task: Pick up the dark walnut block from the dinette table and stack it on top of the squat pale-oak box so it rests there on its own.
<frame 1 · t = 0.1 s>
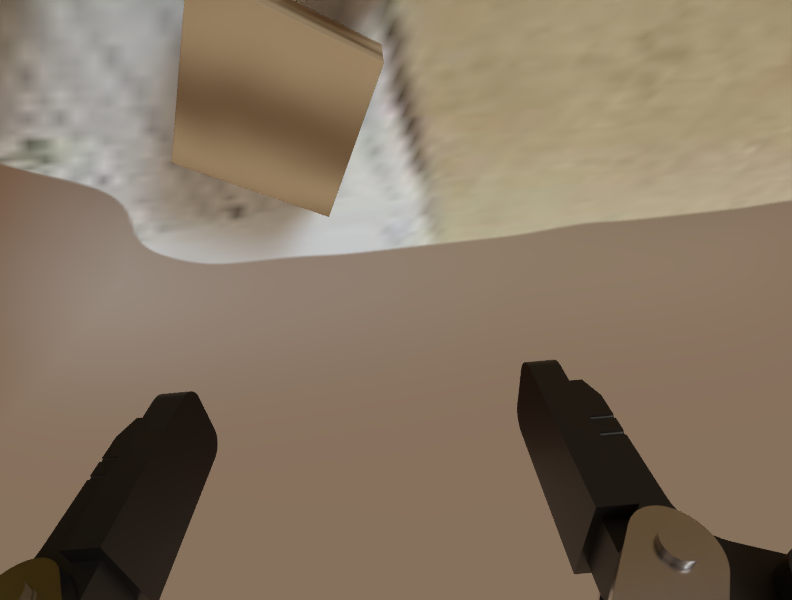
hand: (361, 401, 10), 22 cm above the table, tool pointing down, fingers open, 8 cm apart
oak box: (288, 88, 25), on the table
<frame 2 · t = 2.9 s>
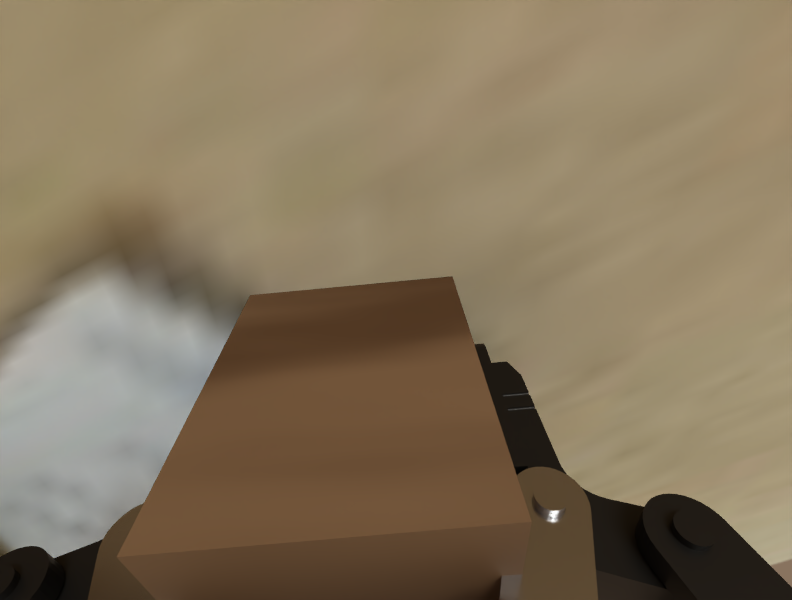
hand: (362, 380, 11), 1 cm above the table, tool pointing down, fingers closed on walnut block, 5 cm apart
walnut block: (363, 362, 11), on the table, touching gripper
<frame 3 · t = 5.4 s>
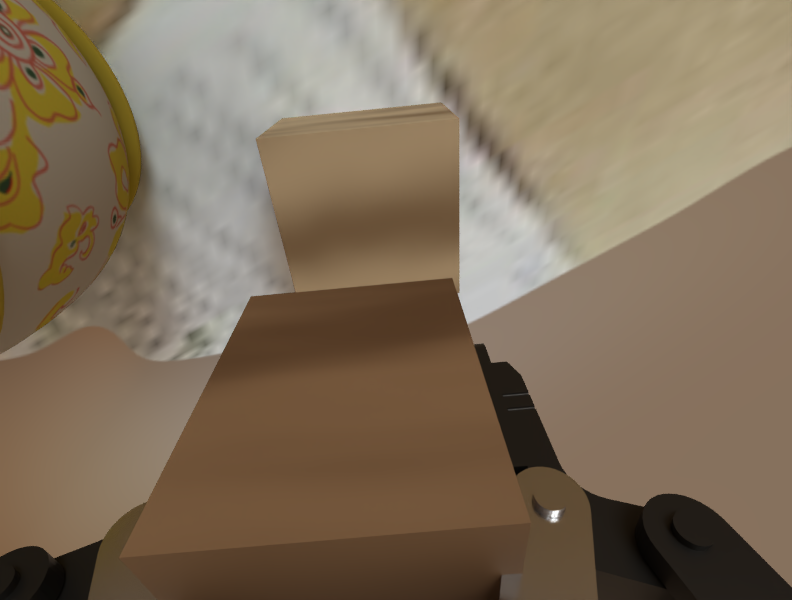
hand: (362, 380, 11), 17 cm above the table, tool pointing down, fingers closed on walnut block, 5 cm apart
flowerpot: (15, 113, 22), on the table
walnut block: (364, 363, 11), point 16 cm above the table, touching gripper
oak box: (371, 188, 25), on the table
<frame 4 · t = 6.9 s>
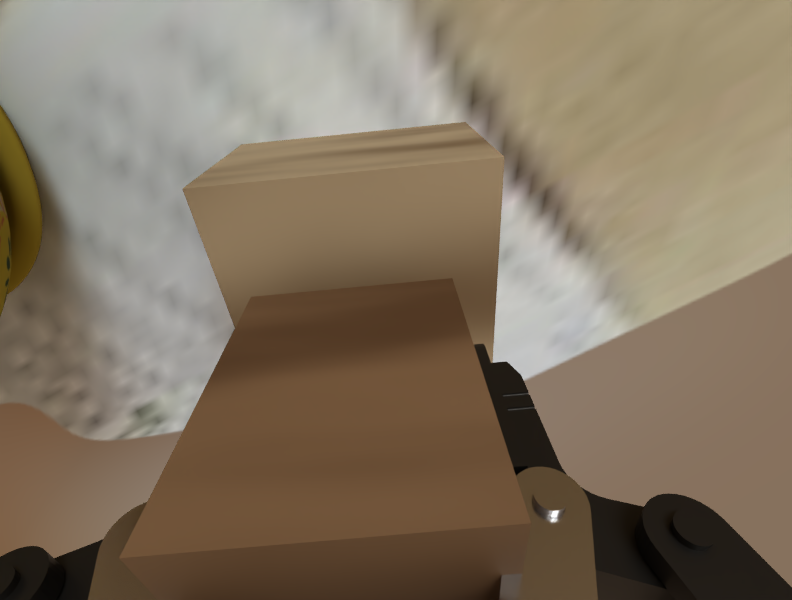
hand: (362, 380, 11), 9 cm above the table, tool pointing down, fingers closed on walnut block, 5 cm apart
walnut block: (364, 363, 11), point 9 cm above the table, touching gripper
oak box: (367, 235, 19), on the table
when the fingers open (7 cm above the table, at t = 8.0 s): walnut block stays where it is, point 6 cm above the table.
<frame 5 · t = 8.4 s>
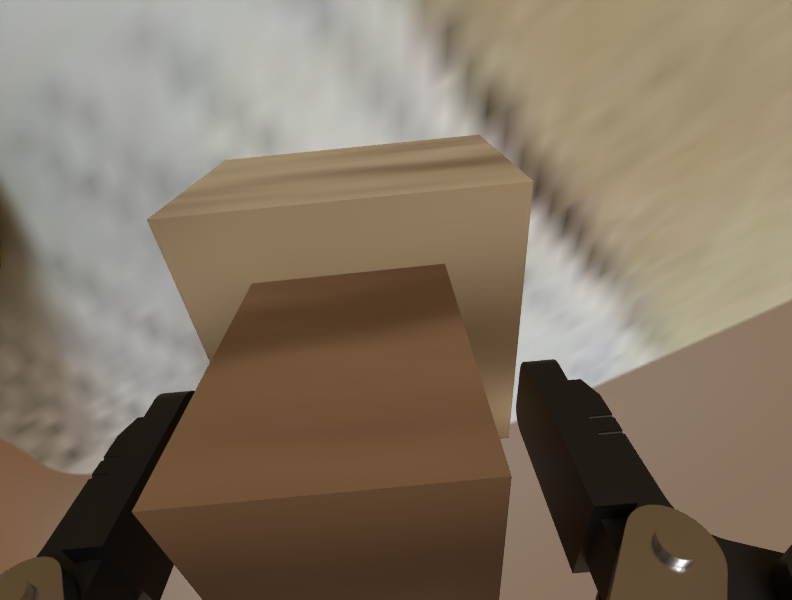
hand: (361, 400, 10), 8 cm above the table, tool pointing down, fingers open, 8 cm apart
walnut block: (361, 348, 12), point 6 cm above the table
oak box: (368, 258, 17), on the table
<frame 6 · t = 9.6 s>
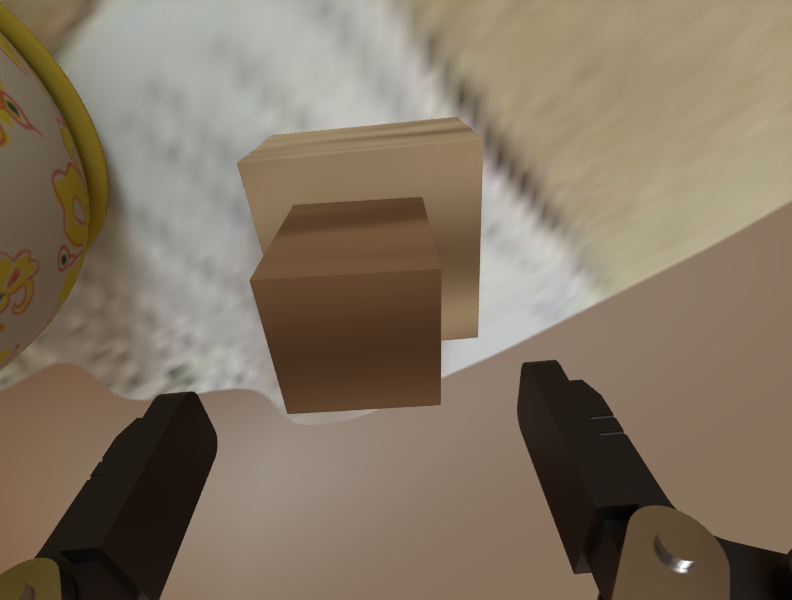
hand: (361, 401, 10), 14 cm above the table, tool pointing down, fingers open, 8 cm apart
walnut block: (364, 259, 17), point 6 cm above the table
oak box: (375, 213, 22), on the table
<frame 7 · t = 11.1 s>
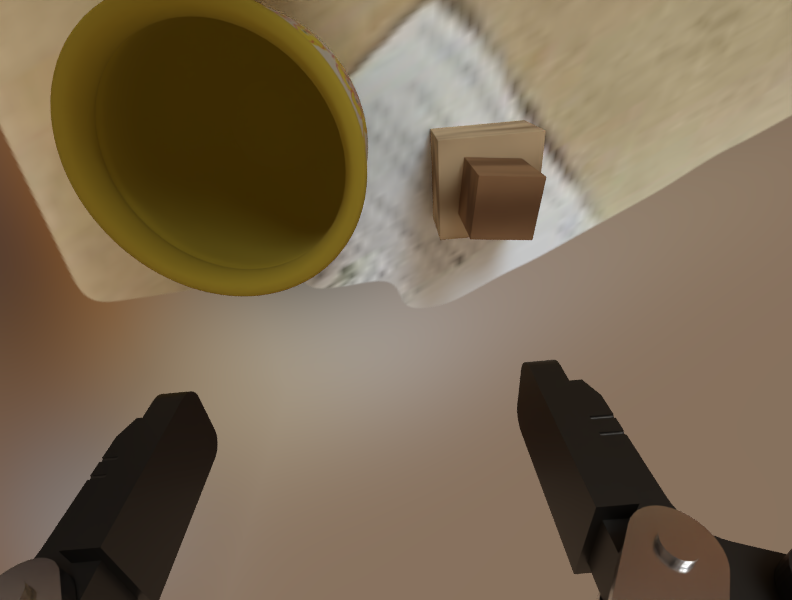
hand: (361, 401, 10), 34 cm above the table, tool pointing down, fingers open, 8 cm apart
flowerpot: (276, 125, 38), on the table
walnut block: (488, 186, 36), point 6 cm above the table, touching oak box
oak box: (475, 171, 41), on the table, touching walnut block
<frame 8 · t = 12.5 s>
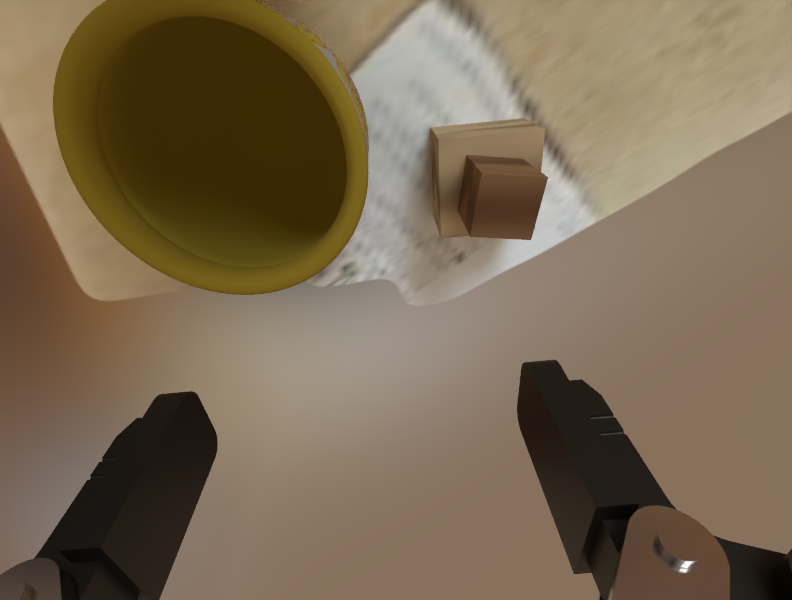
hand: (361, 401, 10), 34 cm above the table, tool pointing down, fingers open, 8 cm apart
flowerpot: (276, 124, 38), on the table
walnut block: (489, 185, 36), point 6 cm above the table
oak box: (475, 169, 41), on the table
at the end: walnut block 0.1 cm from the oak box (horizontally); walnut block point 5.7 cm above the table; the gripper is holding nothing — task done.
